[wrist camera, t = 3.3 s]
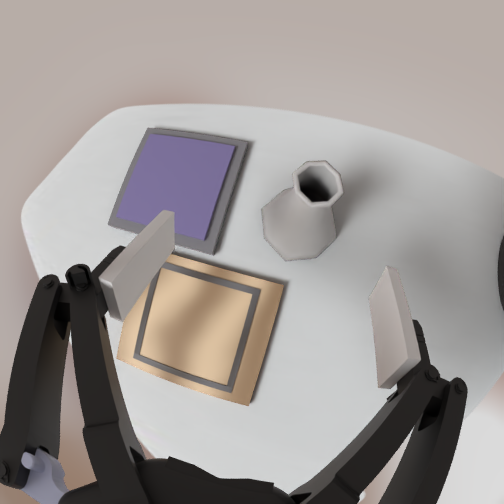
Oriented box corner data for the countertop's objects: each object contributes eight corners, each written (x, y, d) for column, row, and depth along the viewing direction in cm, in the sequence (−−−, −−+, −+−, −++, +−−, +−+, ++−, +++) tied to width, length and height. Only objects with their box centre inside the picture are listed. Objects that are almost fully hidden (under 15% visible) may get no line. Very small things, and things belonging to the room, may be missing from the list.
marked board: (283, 285, 25) (284, 285, 24) (248, 403, 23) (248, 406, 22) (146, 246, 26) (143, 245, 25) (119, 357, 24) (116, 358, 24)
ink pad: (247, 145, 27) (247, 140, 26) (213, 255, 26) (211, 253, 24) (150, 131, 28) (146, 126, 27) (111, 226, 27) (105, 223, 25)
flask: (248, 205, 26) (240, 155, 16) (314, 178, 26) (338, 122, 17) (280, 274, 25) (291, 261, 15) (347, 243, 25) (392, 213, 15)
